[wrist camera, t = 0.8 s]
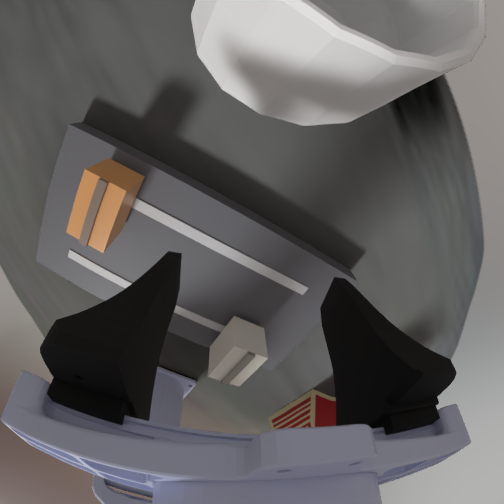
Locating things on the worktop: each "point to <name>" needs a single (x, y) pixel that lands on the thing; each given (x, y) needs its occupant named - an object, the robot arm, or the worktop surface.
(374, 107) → the cup
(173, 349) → the worktop surface
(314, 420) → the milk carton
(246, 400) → the worktop surface
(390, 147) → the worktop surface
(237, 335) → the block
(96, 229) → the fader orange
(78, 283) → the mixing panel
